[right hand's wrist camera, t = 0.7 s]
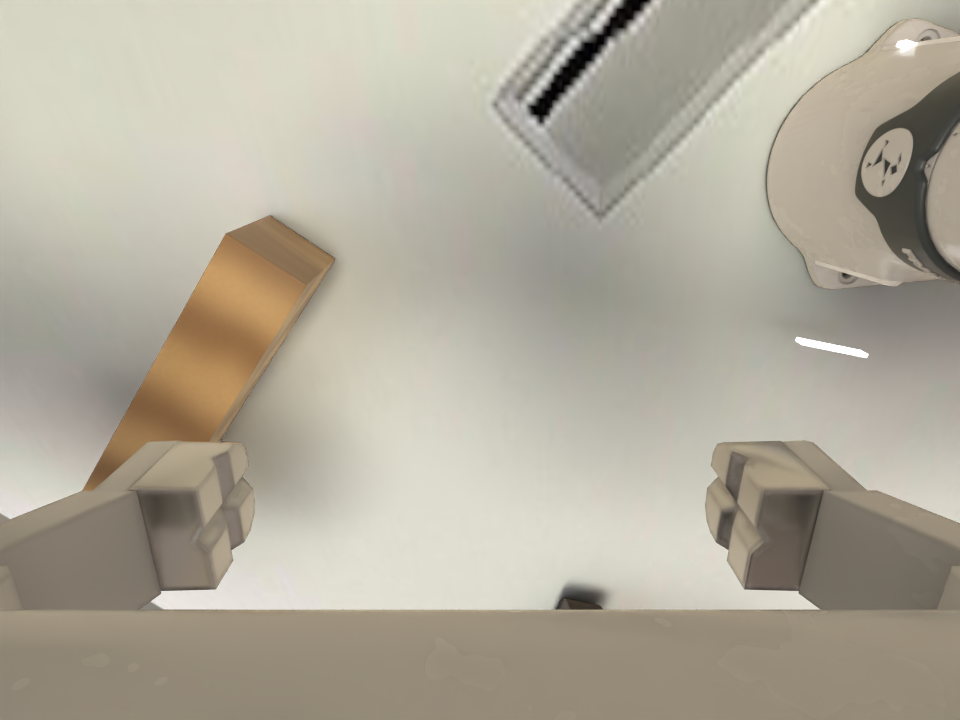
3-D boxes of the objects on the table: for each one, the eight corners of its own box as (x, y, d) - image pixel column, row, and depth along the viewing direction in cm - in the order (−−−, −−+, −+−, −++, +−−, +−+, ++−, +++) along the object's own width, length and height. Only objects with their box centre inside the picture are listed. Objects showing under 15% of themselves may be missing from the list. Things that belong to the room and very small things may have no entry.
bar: (270, 215, 44) (225, 233, 36) (335, 258, 45) (306, 285, 37) (122, 470, 52) (59, 530, 44) (181, 501, 53) (131, 565, 45)
